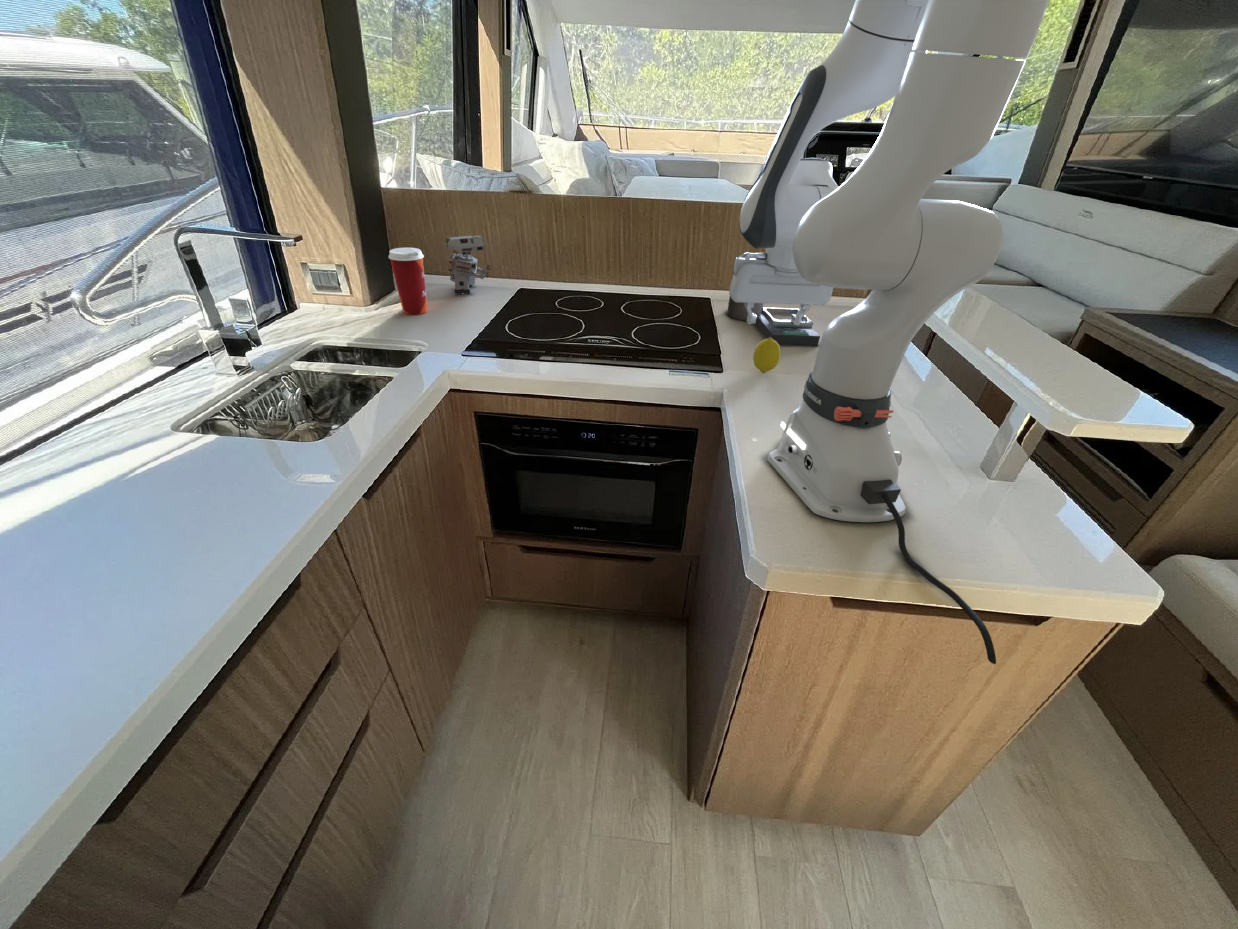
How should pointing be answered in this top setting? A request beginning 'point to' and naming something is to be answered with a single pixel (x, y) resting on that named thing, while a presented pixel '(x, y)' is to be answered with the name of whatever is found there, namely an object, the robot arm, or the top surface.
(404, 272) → the coffee cup
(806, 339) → the scale
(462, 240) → the figurine
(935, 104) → the robot arm
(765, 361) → the lemon
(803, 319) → the scale pan
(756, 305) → the pillar candle
